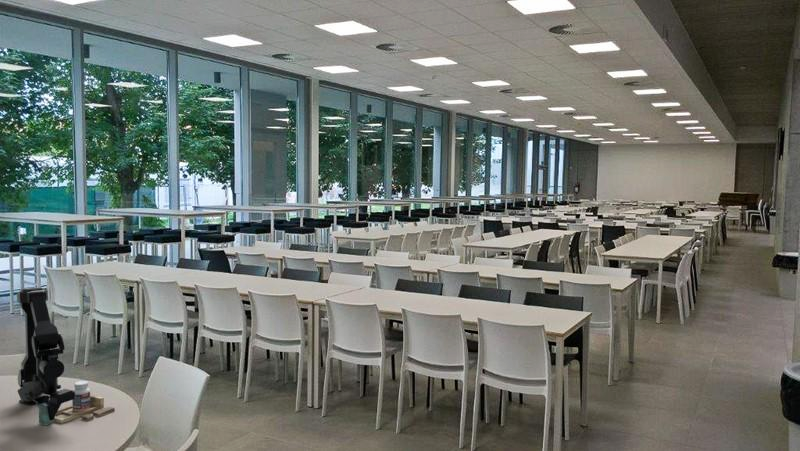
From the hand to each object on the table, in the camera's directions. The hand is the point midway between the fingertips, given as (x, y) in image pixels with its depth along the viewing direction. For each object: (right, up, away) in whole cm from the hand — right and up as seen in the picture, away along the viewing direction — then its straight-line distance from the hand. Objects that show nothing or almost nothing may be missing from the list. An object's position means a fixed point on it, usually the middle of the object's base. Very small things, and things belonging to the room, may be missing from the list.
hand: (48, 419), depth 199 cm
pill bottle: (+5, 0, +11) cm, 12 cm away
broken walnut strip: (+12, -1, +7) cm, 14 cm away
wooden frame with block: (+3, -1, +7) cm, 8 cm away
